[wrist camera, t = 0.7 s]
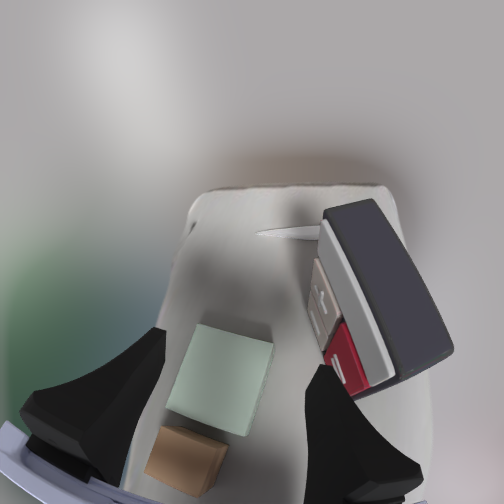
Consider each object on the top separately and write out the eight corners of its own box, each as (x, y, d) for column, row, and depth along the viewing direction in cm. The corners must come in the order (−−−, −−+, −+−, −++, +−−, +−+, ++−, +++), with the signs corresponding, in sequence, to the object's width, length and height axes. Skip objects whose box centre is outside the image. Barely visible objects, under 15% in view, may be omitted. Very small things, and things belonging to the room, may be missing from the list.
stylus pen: (373, 229, 34) (375, 220, 32) (375, 246, 32) (378, 237, 31) (257, 229, 37) (254, 219, 35) (254, 246, 35) (252, 237, 34)
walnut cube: (213, 486, 19) (197, 498, 15) (166, 466, 21) (143, 472, 17) (229, 444, 22) (216, 449, 18) (181, 426, 23) (161, 425, 19)
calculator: (303, 308, 29) (311, 208, 17) (340, 296, 29) (372, 194, 17) (336, 407, 23) (388, 388, 10) (377, 391, 23) (457, 351, 11)
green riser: (248, 435, 22) (244, 436, 20) (177, 409, 24) (165, 407, 22) (275, 351, 27) (273, 343, 25) (205, 332, 29) (197, 323, 27)
